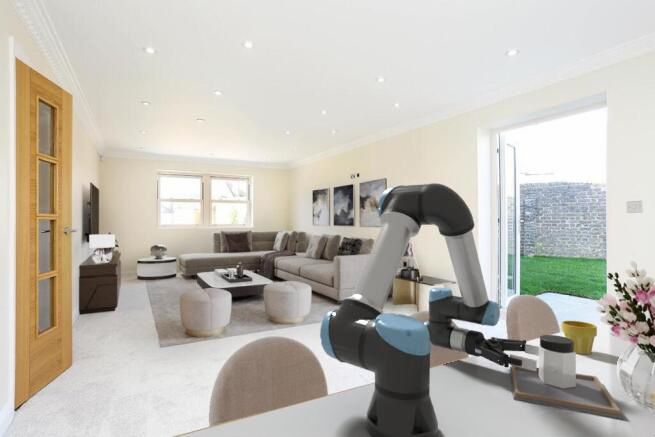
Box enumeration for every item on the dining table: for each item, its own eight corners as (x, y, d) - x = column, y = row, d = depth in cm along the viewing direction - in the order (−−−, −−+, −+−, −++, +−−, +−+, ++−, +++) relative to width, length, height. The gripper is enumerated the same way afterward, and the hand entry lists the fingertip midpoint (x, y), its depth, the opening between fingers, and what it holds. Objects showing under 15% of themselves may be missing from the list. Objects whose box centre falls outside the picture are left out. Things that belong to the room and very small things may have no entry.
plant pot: (554, 348, 133) (554, 321, 133) (576, 345, 136) (576, 319, 136) (582, 357, 123) (582, 328, 123) (604, 354, 126) (604, 326, 126)
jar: (534, 381, 102) (534, 338, 102) (542, 373, 108) (542, 332, 108) (572, 391, 95) (572, 346, 96) (578, 382, 101) (578, 339, 102)
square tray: (513, 399, 92) (513, 392, 92) (509, 368, 113) (509, 363, 113) (623, 419, 83) (623, 412, 83) (597, 381, 103) (597, 376, 103)
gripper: (483, 344, 124) (555, 361, 109) (450, 363, 107) (529, 386, 92) (483, 322, 125) (555, 336, 110) (450, 338, 107) (529, 356, 92)
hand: (543, 359), depth 101 cm, fingers open, 13 cm apart
